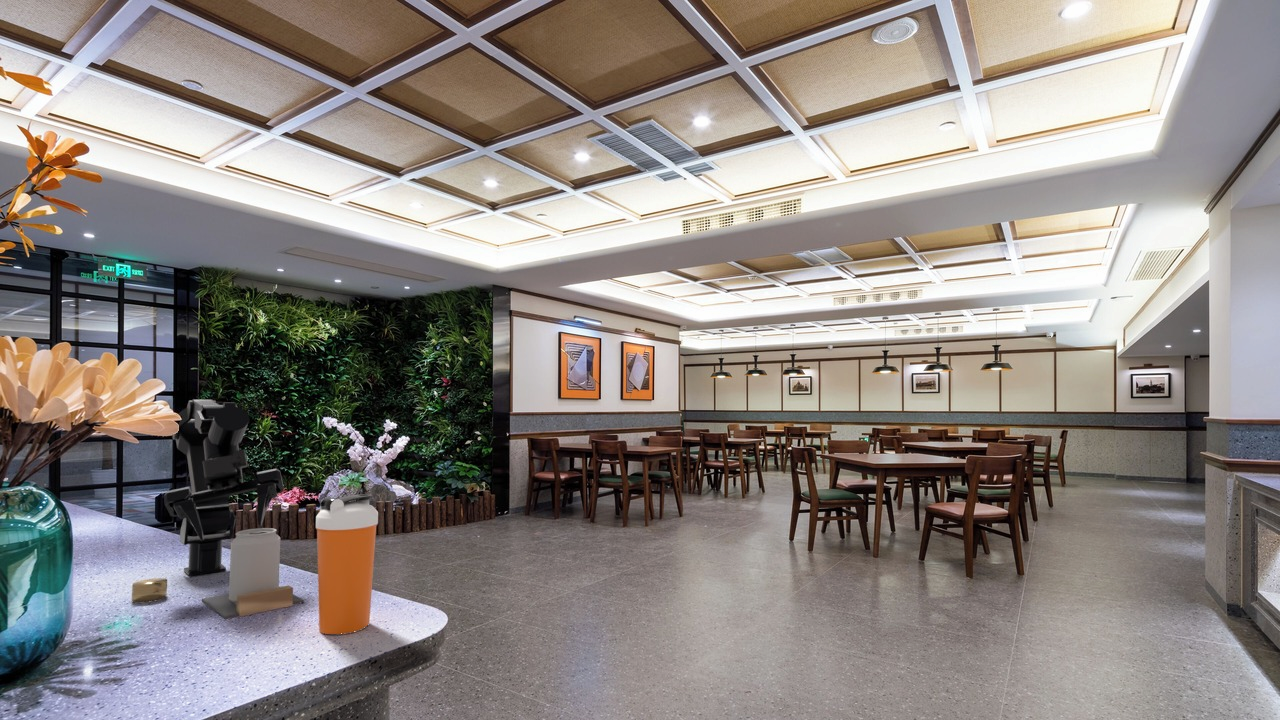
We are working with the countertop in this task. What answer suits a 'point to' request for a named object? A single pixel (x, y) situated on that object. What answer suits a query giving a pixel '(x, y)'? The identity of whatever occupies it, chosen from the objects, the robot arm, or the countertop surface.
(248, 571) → the can
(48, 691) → the countertop surface
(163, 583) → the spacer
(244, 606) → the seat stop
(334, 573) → the shaker bottle
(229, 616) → the seat pad
